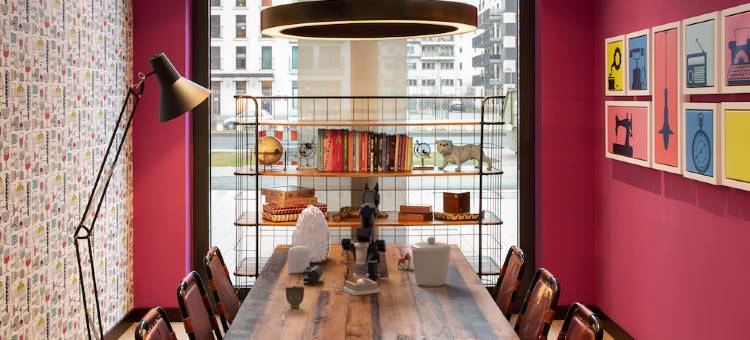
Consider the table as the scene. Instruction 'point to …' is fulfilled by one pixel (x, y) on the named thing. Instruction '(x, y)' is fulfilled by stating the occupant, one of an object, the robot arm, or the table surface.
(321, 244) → the rice ball
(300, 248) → the photo printer
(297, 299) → the cup
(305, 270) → the end cap
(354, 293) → the cream cradle stand
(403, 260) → the toy house
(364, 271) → the bobbin
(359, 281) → the reel lid
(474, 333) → the table surface
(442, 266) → the canister
